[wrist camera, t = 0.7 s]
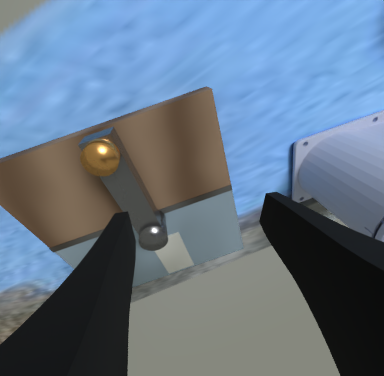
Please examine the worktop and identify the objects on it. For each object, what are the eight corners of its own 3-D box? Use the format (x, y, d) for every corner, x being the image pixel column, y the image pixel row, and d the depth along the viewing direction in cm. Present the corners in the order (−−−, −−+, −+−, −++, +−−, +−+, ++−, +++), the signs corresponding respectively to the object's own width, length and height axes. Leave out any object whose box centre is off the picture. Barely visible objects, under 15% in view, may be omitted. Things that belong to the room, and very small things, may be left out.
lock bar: (169, 223, 19) (172, 249, 16) (146, 231, 19) (145, 259, 16) (118, 122, 13) (110, 138, 10) (84, 134, 13) (68, 152, 10)
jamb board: (206, 86, 15) (212, 88, 13) (226, 181, 20) (232, 189, 18) (-20, 165, 15) (-36, 175, 13) (59, 239, 20) (53, 252, 18)
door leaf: (226, 181, 20) (232, 190, 18) (239, 239, 25) (244, 250, 24) (59, 239, 20) (53, 253, 18) (108, 285, 25) (105, 298, 24)
